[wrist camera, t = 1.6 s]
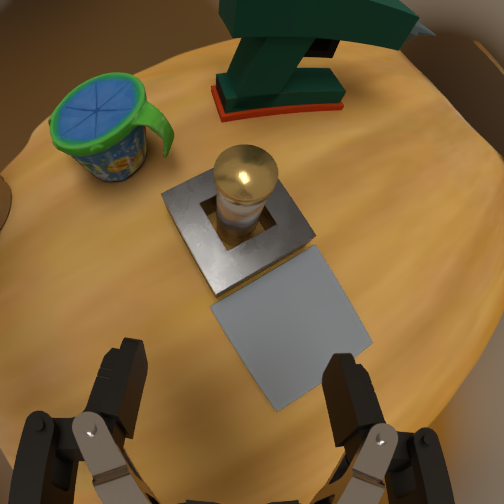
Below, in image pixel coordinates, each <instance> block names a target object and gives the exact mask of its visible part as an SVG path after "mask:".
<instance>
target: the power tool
mask: <svg viewBox="0 0 504 504" xmlns="http://www.w3.org/2000/svg"><path fill="white" fill-rule="evenodd" d="M219 15H220V17H221V18H222V20H223V22H224V23H225V25H226V27H227V29H228V30H229V32H230V34H231V36H232V38H241V41H240V43H239V45H238V47H237V50H236V52H235V54H234V57H233V59H232V61H231V64H230V66H229V69H228V71H227V73H221V74H216V86H211V92H212V95H213V98H214V101H215V104H216V107H217V110H218V113H219V116H220V119H221V122H227V121H233V120H240V119H246V118H253V117H261V116H269V115H278V114H287V113H299V112H313V111H332V110H342V108H343V107H344V105H343V103H342V102H341V100H342V98H343V96H344V94H345V92H346V91H345V89H344V88H343V87H342V85H341V84H340V82H339V81H338V79H337V78H336V76H335V75H334V74H333V72H332V71H331V70H330V68H296V67H297V66H298V64H299V63H300V61H301V59H302V58H303V57H322V58H333V55H334V53H335V51H336V48H337V46H338V44H339V42H340V40H342V41H350V42H357V43H363V44H369V45H374V46H380V47H385V48H389V49H394V50H398V51H399V50H400V48H401V46H402V45H403V43H404V42H405V41H408V40H413V39H414V38H415V37H416V36H417V35H430V36H436V35H435V34H434V33H432V32H431V31H430V30H428V29H427V28H426V27H425V26H423V25H422V24H420V23H419V16H418V15H416V14H415V13H414V12H413V11H412V10H410V9H409V8H408V7H406V6H405V5H404V4H403V3H402V2H400V1H399V0H220V1H219Z"/></svg>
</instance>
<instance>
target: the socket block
mask: <svg viewBox="0 0 504 504" xmlns="http://www.w3.org/2000/svg"><path fill="white" fill-rule="evenodd" d="M161 195H162V198H163V200H164V203H165V205H166V208H167V210H168V212H169V214H170V216H171V218H172V219H173V221H174V223H175V225H176V227H177V229H178V231H179V233H180V235H181V236H182V238H183V240H184V242H185V244H186V246H187V248H188V249H189V251H190V253H191V255H192V257H193V258H194V260H195V262H196V264H197V266H198V267H199V269H200V271H201V273H202V275H203V276H204V278H205V280H206V282H207V283H208V285H209V287H210V289H211V290H212V292H213V294H214V295H215V297H216V298H217V297H219V296H220V295H222V294H224V293H226V292H227V291H229V290H231V289H233V288H234V287H236V286H238V285H240V284H241V283H243V282H245V281H246V280H248V279H250V278H252V277H253V276H255V275H257V274H258V273H260V272H262V271H264V270H265V269H267V268H269V267H270V266H272V265H274V264H275V263H277V262H279V261H281V260H282V259H284V258H286V257H287V256H289V255H291V254H292V253H294V252H296V251H297V250H299V249H301V248H302V247H304V246H305V245H306V244H307V243H309V242H310V241H311V240H312V239H313V238H314V237H315V236H316V234H315V233H314V231H313V230H312V228H311V227H310V225H309V224H308V222H307V220H306V219H305V217H304V216H303V214H302V213H301V211H300V210H299V208H298V207H297V205H296V204H295V202H294V201H293V199H292V198H291V196H290V195H289V193H288V192H287V191H286V189H285V188H284V186H283V185H282V183H281V182H280V180H279V179H278V180H277V183H276V185H275V187H274V190H273V192H272V194H271V195H270V196H269V197H268V199H267V200H266V202H265V205H264V207H263V210H262V212H261V215H260V217H259V221H260V222H261V224H262V225H263V227H264V229H265V230H266V231H264V232H262V233H260V234H258V235H257V236H255V237H253V238H251V239H249V240H247V241H246V242H244V243H242V244H240V245H238V246H237V247H235V248H233V249H231V250H229V251H228V252H227V250H226V249H225V247H224V245H223V244H222V242H221V240H220V238H219V237H218V235H217V233H216V232H215V230H214V228H213V226H212V225H211V223H210V221H209V220H208V218H207V215H209V214H210V213H212V212H214V211H216V210H217V190H216V187H215V184H214V168H212V169H210V170H208V171H206V172H204V173H202V174H200V175H198V176H195V177H193V178H191V179H189V180H187V181H185V182H183V183H181V184H179V185H177V186H175V187H173V188H171V189H169V190H167V191H166V192H164V193H162V194H161Z"/></svg>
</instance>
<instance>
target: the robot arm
mask: <svg viewBox="0 0 504 504" xmlns="http://www.w3.org/2000/svg"><path fill="white" fill-rule="evenodd" d="M10 204H11V190H10V188H9V186H8V185H7V184H6V183H5V182H4V181H3V177H2V176H1V175H0V229H1V228H2V226H3V224H4V222H5V220H6V218H7V215H8V212H9V209H10ZM147 370H148V362H147V358H146V353H145V349H144V344H143V341H142V340H138V339H132V338H126V337H125V338H124V339H123V341H122V344H121V346H120V349H116V348H112V349H111V350H110V351H109V352H108V353H107V354H106V355H105V356H104V358H103V361H102V363H101V366H100V369H99V371H98V374H97V377H96V380H95V382H94V385H93V388H92V391H91V394H90V397H89V400H88V403H87V406H86V408H85V410H84V411H83V412H82V413H80V414H79V415H77V416H76V417H73V418H51V417H50V416H49V415H48V414H47V413H45V412H43V411H34V412H32V413H31V414H30V415H29V416H28V417H27V419H26V422H25V425H24V428H23V432H22V436H21V439H20V443H19V447H18V451H17V455H16V460H15V465H14V470H13V475H12V481H11V487H10V494H9V502H8V504H73V502H74V492H75V484H76V477H77V470H78V463H79V461H85V462H86V464H87V466H88V468H89V470H90V472H91V474H92V477H93V481H92V482H93V486H94V488H95V490H96V492H97V494H98V496H99V498H100V499H101V501H102V503H103V504H161V503H160V502H159V501H158V499H157V498H156V496H155V495H154V494H153V492H152V491H151V489H150V488H149V487H148V486H147V484H146V483H145V482H144V480H143V479H142V477H141V476H140V474H139V472H138V471H137V469H136V468H135V466H134V464H133V463H132V461H131V459H130V457H129V456H128V454H127V452H126V450H125V449H124V447H123V446H124V441H125V438H129V439H133V435H134V430H135V425H136V420H137V415H138V411H139V406H140V402H141V397H142V393H143V389H144V384H145V380H146V376H147ZM371 383H372V382H371V379H370V377H369V374H368V372H367V371H366V370H365V368H364V367H363V366H362V365H361V364H356V363H355V360H354V357H353V355H352V354H351V353H334V354H333V355H332V357H331V359H330V361H329V363H328V365H327V367H326V368H325V370H324V372H323V375H322V387H323V391H324V396H325V400H326V405H327V409H328V414H329V418H330V423H331V427H332V432H333V437H334V442H335V447H342V446H344V448H345V452H344V453H343V455H342V457H341V458H340V460H339V462H338V464H337V465H336V467H335V469H334V471H333V472H332V474H331V476H330V477H329V479H328V481H327V482H326V484H325V485H324V486H323V487H322V488H321V489H320V490H319V492H318V493H317V494H316V495H315V496H314V498H313V499H312V501H311V502H310V504H378V502H379V501H380V499H381V496H382V494H383V492H384V489H385V484H383V478H384V476H385V482H386V488H387V494H388V500H389V504H455V502H454V497H453V492H452V488H451V483H450V479H449V475H448V471H447V467H446V463H445V459H444V456H443V452H442V449H441V446H440V442H439V439H438V436H437V434H436V433H435V432H434V431H433V430H432V429H430V428H421V429H419V430H418V431H417V432H415V433H408V432H399V431H396V430H395V429H394V428H393V427H392V426H391V425H389V424H386V422H385V420H384V417H383V414H382V411H381V408H380V405H379V402H378V399H377V396H376V394H375V392H374V388H373V385H372V384H371ZM179 504H219V503H215V502H204V501H193V500H186V503H179ZM268 504H299V501H298V500H294V501H284V502H271V503H268Z"/></svg>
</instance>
